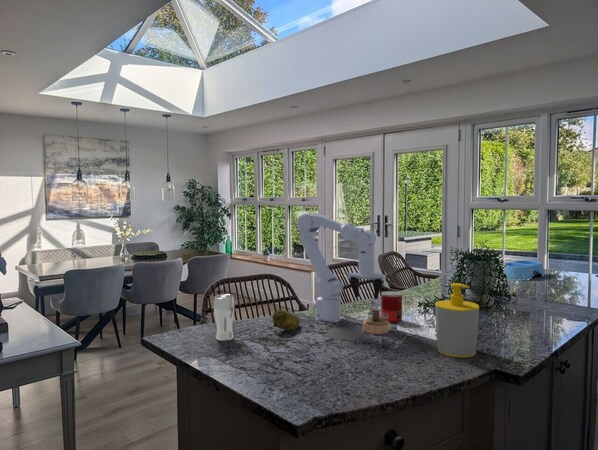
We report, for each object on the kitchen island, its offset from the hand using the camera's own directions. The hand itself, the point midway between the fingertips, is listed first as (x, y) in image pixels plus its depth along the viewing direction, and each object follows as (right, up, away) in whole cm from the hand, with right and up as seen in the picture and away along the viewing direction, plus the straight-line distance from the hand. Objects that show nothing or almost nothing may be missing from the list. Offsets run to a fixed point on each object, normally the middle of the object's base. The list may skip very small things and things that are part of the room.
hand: (366, 298), depth 164 cm
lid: (+2, -8, -8) cm, 11 cm away
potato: (-30, -11, -5) cm, 32 cm away
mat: (-10, -11, -11) cm, 19 cm away
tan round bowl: (+2, -11, -7) cm, 13 cm away
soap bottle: (+24, -12, -29) cm, 39 cm away
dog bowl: (+111, -4, +100) cm, 150 cm away
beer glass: (-52, -12, -13) cm, 55 cm away
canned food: (+11, -10, +6) cm, 16 cm away
